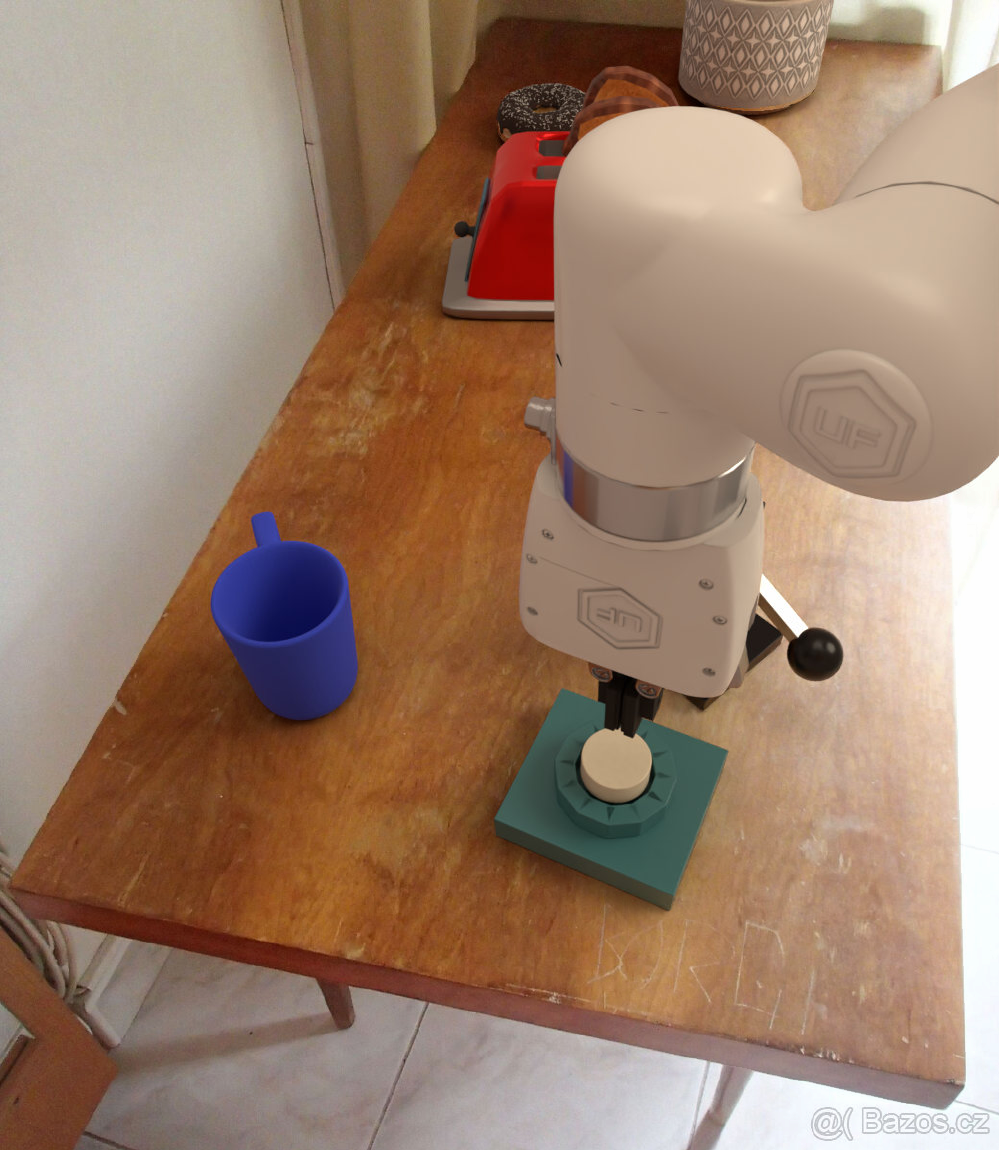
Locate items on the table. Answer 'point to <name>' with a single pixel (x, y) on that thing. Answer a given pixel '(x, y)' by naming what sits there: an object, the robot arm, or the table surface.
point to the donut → (539, 109)
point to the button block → (612, 804)
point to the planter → (752, 51)
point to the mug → (289, 623)
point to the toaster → (531, 208)
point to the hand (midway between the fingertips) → (628, 711)
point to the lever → (801, 638)
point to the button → (615, 766)
